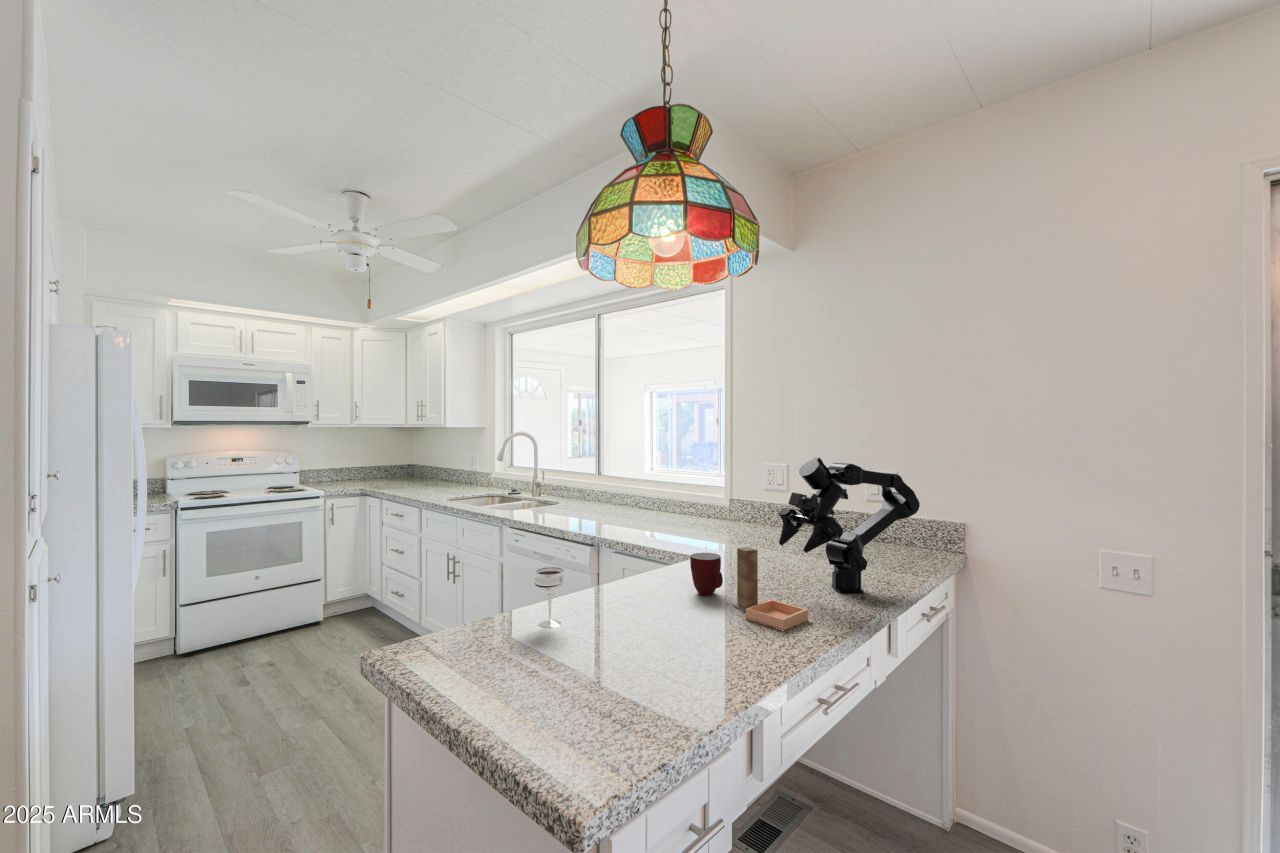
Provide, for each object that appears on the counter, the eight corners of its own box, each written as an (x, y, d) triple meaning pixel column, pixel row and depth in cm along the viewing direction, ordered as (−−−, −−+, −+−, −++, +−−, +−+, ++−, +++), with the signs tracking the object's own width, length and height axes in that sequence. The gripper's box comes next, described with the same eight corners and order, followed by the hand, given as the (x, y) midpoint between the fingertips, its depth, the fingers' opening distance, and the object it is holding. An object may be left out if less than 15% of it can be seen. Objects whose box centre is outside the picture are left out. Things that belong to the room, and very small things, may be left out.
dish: (771, 609, 132) (771, 599, 132) (808, 620, 125) (808, 609, 125) (745, 619, 126) (745, 608, 126) (783, 631, 118) (783, 620, 118)
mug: (734, 596, 143) (734, 558, 142) (712, 602, 138) (712, 563, 138) (705, 587, 151) (705, 551, 151) (684, 592, 146) (684, 555, 146)
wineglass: (566, 627, 121) (566, 573, 121) (535, 630, 120) (535, 576, 120) (563, 617, 128) (562, 566, 128) (533, 619, 126) (533, 568, 126)
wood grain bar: (749, 603, 137) (749, 545, 137) (762, 609, 133) (761, 549, 133) (733, 606, 135) (732, 547, 135) (745, 612, 130) (744, 552, 130)
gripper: (783, 478, 150) (751, 522, 145) (833, 484, 133) (799, 534, 129) (805, 504, 153) (775, 548, 149) (858, 513, 136) (825, 563, 132)
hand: (792, 547), depth 139 cm, fingers open, 9 cm apart
